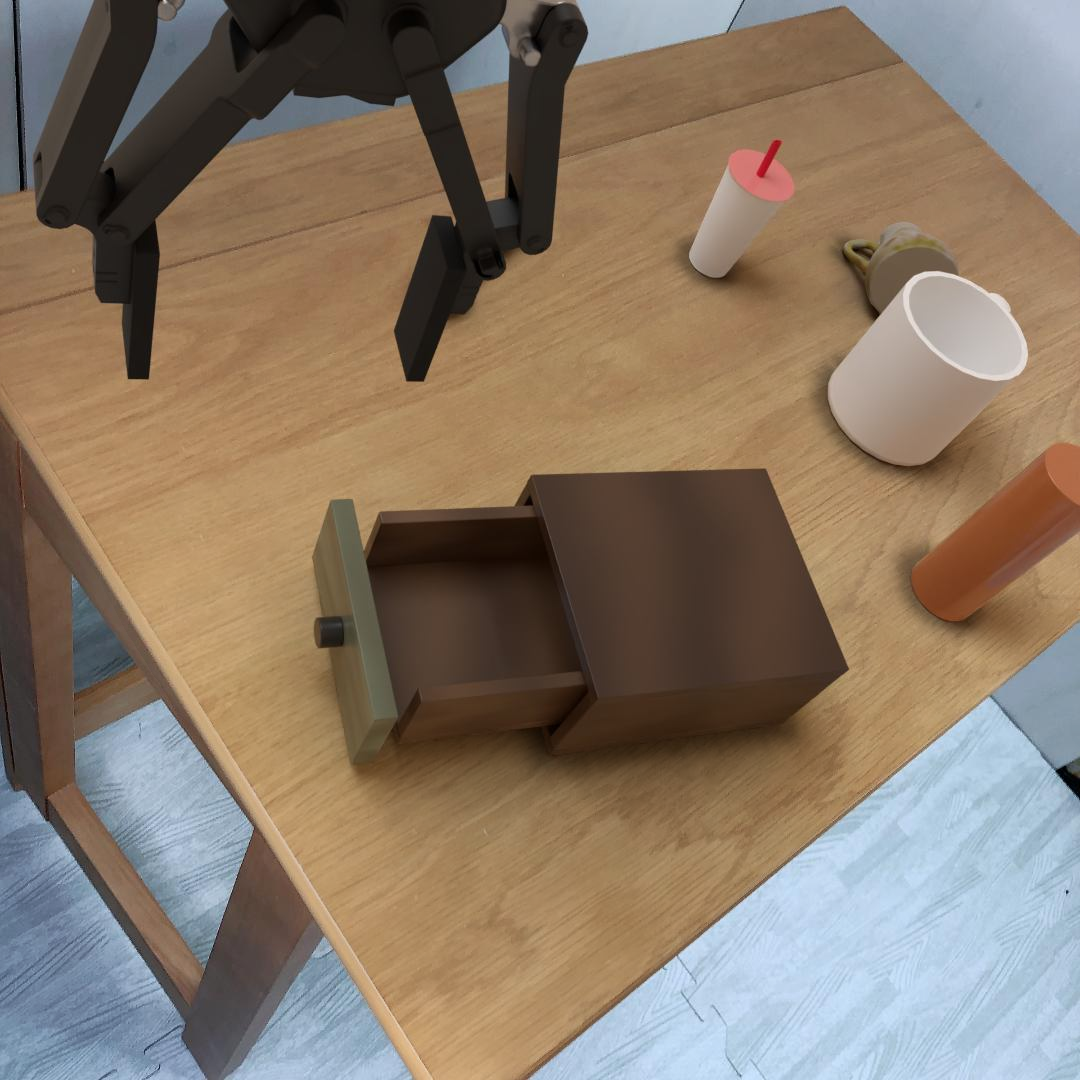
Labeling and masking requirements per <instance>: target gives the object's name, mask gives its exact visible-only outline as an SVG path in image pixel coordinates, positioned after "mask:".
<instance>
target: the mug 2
mask: <svg viewBox="0 0 1080 1080" xmlns="http://www.w3.org/2000/svg"><path fill="white" fill-rule="evenodd" d="M1028 359H1029V351H1028V345H1027V340H1026V338H1025V336H1024V333H1023V331H1022V329H1021V327H1020V325H1019V323H1018V322H1017V321H1016V319H1015V318H1014V316H1013V315H1012V309H1011V305H1010V304H1009V303H1008V301H1007V300H1006V299H1005V298H1004V297H1003V296H1002V295H1000V294H998V293H994V292H989V291H987V290H986V289H984V288H983V287H981V286H979V285H978V284H976V283H974V282H972V281H970V280H969V279H966V278H964V277H962V276H957V275H954V274H950V273H945V272H940V271H929V272H923V273H920V274H917V275H915V276H913V277H912V278H911V279H910V280H909V281H908V282H907V283H906V284H905V286H904V287H903V288H902V289H901V290H900V292H899V293H898V294H897V295H896V297H895V298H894V299H893V300H892V301H891V303H890V304H889V305H888V306H887V308H886V309H885V310H884V311H883V312H882V314H881V315H880V314H879V316H878V317H877V318H876V320H875V321H874V322H873V323H872V325H871V326H870V327H869V328H868V329H867V331H866V332H865V333H864V334H863V336H862V337H861V338H860V339H859V340H858V341H857V343H856V344H855V345H854V346H853V348H852V349H851V350H850V351H849V353H848V354H847V355H846V356H845V358H843V360H842V361H841V362H840V364H839V365H838V366H837V368H835V369H834V371H833V372H832V373H831V375H830V377H829V381H828V383H827V401H828V404H829V408H830V411H831V414H832V416H833V417H834V419H835V421H836V423H837V425H838V427H839V428H840V429H841V430H842V431H843V432H844V434H845V435H846V436H847V437H848V439H849V440H851V442H853V444H855V445H856V446H857V447H859V448H860V449H861V451H864V452H865V453H867V454H868V455H871V456H872V457H874V458H876V459H878V460H880V461H883V462H886V463H888V464H891V465H895V466H902V467H912V466H920V465H924V464H926V463H928V462H930V461H932V460H934V459H935V458H936V457H937V456H938V455H939V454H940V453H941V452H942V451H943V450H944V449H945V448H946V447H947V446H948V445H949V444H950V443H951V442H952V441H953V440H954V439H955V438H956V437H957V436H958V435H959V434H960V433H961V432H963V430H964V429H965V428H966V427H967V426H968V425H970V423H972V422H973V421H974V419H976V418H977V416H979V414H981V413H982V412H983V411H984V410H985V409H986V408H987V407H988V406H989V405H990V404H991V403H992V402H993V401H994V400H995V399H996V398H998V396H999V395H1000V394H1001V393H1003V391H1004V390H1005V389H1006V388H1007V387H1008V386H1009V385H1010V384H1011V383H1012V382H1013V381H1014V380H1016V378H1017V377H1018V376H1019V375H1020V374H1021V373H1022V372H1023V371H1024V369H1025V368H1026V366H1027V362H1028Z"/></svg>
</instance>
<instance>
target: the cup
mask: <svg viewBox="0 0 1080 1080" xmlns="http://www.w3.org/2000/svg"><path fill="white" fill-rule="evenodd" d="M782 143H783V140H781V139H774V140H772V142H771V144H770V146H769V147H768V149H767V151H766V153H763V152H762V151H758V150H754V149H747V148H746V149H738V150H735V151H733V153H731V154H730V156H729V158H728V164H727V166H726V168H725V171H724V172H723V175H722V177H721V180H720V182H719V184H718V186H717V189H716V190H715V193H714V195H713V197H712V200H711V202H710V204H709V206H708V208H707V210H706V213H705V216H704V218H703V220H702V222H701V224H700V226H699V229H698V231H697V234H696V236H695V238H694V241H693V243H692V246H691V248H690V250H689V253H688V259H689V262H690V263H691V265H692V266H693V268H694V269H696V270H697V271H698V272H699V273H701V274H703V275H704V276H707V277H708V278H709V277H710V278H713V279H714V278H715V279H716V278H717V279H718V278H723V277H725V276H726V275H727V274H728V273H729V271H730V270H731V269H732V268H733V267H734V265H735V264H736V263H737V261H739V259H740V258H741V257H742V256H743V254H744V253H745V252H746V251H747V250H748V249H749V247H750V246H751V245H752V244H753V242H754V241H755V240H756V239H757V237H758V236H759V235H760V233H761V232H762V231H763V230H764V229H765V227H766V226H767V225H769V222H770V221H771V220H772V219H773V218H774V216H775V215H776V214H777V213H778V211H779V210H780V208H782V206H783V205H784V204H785V202H786V201H788V200H789V199H791V198H792V197H793V196H794V193H795V190H796V189H795V188H796V187H795V182H794V179H793V178H792V176H791V174H790V172H789V171H788V170H787V169H786V167H784V165H782V164H781V163H780V162H779V161H778V160H776V159H775V157H776V155H777V153H778V151H779V150H780V147H781V145H782Z"/></svg>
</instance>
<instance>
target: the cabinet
mask: <svg viewBox="0 0 1080 1080" xmlns="http://www.w3.org/2000/svg"><path fill="white" fill-rule="evenodd" d="M532 505H534V508H535V512H536V515H537V518H538V522H539V525H540V528H541V532H542V535H543V539H544V542H545V545H546V549H547V552H548V555H549V559H550V562H551V566H552V569H553V572H554V576H555V579H556V582H557V586H558V589H559V593H560V596H561V599H562V603H563V606H564V609H565V613H566V616H567V620H568V623H569V626H570V630H571V633H572V636H573V640H574V643H575V647H576V650H577V653H578V657H579V660H580V663H581V667H582V670H583V674H584V677H585V680H586V684H587V687H588V690H589V692H588V693H587V694H586V696H585V697H584V698H583V699H582V700H581V702H580V703H579V704H578V705H577V706H576V707H575V709H574V710H573V711H572V712H571V713H570V715H569V716H568V717H567V718H566V719H565V720H564V722H563V723H562V724H556V725H548V726H540V729H541V733H542V736H543V740H544V743H545V744H544V745H545V747H546V750H547V755H548V756H555V755H556V756H557V755H565V754H572V753H579V752H586V751H587V752H588V751H594V750H595V751H596V750H602V749H609V748H617V747H624V746H631V745H638V744H646V743H652V742H661V741H667V740H668V741H669V740H675V739H682V738H683V739H684V738H689V737H696V736H697V737H698V736H703V735H712V734H719V733H727V732H735V731H740V730H741V731H742V730H748V729H756V728H763V727H764V728H765V727H769V726H771V727H772V726H778V725H783V724H784V723H785V722H787V721H788V720H790V718H792V717H793V716H794V715H795V714H796V713H798V712H799V711H800V710H801V709H802V708H804V707H805V706H806V705H807V704H809V703H810V702H811V701H812V700H814V699H815V698H816V697H817V696H819V695H820V694H821V693H822V692H823V691H824V690H826V689H827V688H828V687H829V686H831V685H832V684H833V683H834V682H836V681H837V680H838V679H839V678H841V677H842V676H843V675H845V674H846V673H847V672H848V671H850V668H849V665H848V663H847V661H846V658H845V656H844V653H843V651H842V648H841V646H840V644H839V641H838V639H837V636H836V635H835V634H836V633H835V631H834V629H833V627H832V624H831V622H830V620H829V617H828V614H827V612H826V610H825V607H824V605H823V603H822V601H821V598H820V595H819V593H818V591H817V588H816V586H815V584H814V581H813V578H812V576H811V574H810V571H809V569H808V566H807V564H806V562H805V559H804V557H803V555H802V552H801V549H800V548H799V545H798V543H797V540H796V537H795V535H794V533H793V531H792V527H791V526H790V523H789V521H788V518H787V516H786V514H785V511H784V508H783V506H782V504H781V501H780V499H779V496H778V494H777V492H776V490H775V487H774V485H773V482H772V480H771V477H770V474H769V472H768V471H767V468H765V467H763V468H762V467H761V468H732V469H731V468H727V469H725V468H724V469H691V470H689V469H687V470H656V471H655V470H653V471H652V470H651V471H616V472H615V471H614V472H582V473H581V472H576V473H545V474H544V473H543V474H541V473H540V474H531V475H530V476H529V478H528V480H527V481H526V484H525V486H524V487H523V489H522V491H521V493H520V494H519V496H518V498H517V500H516V502H515V504H514V505H513V506H532Z"/></svg>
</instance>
